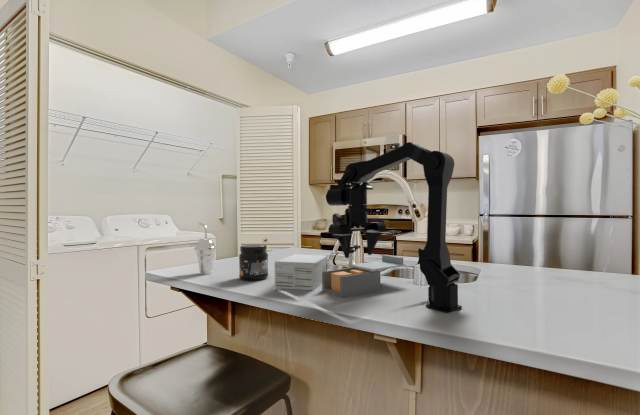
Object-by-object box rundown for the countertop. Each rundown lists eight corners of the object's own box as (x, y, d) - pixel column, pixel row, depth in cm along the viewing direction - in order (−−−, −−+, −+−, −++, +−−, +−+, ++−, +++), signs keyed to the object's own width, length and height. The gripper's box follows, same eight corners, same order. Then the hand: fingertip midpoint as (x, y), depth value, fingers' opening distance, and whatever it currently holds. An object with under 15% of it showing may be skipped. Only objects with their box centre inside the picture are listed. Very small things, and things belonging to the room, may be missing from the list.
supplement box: (314, 293, 101) (314, 262, 101) (274, 291, 105) (273, 261, 105) (328, 281, 118) (327, 254, 118) (292, 279, 121) (292, 253, 121)
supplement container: (239, 276, 127) (239, 244, 127) (268, 274, 129) (267, 243, 129) (238, 282, 117) (237, 247, 117) (268, 280, 119) (268, 246, 119)
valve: (360, 277, 123) (359, 244, 123) (360, 281, 117) (360, 246, 116) (342, 276, 124) (341, 244, 124) (341, 281, 117) (341, 246, 117)
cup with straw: (194, 276, 127) (193, 223, 127) (194, 271, 136) (194, 222, 136) (217, 274, 130) (216, 223, 130) (216, 270, 139) (216, 222, 139)
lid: (405, 266, 107) (405, 257, 107) (371, 271, 99) (371, 262, 99) (383, 261, 115) (383, 254, 115) (350, 266, 107) (350, 258, 107)
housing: (380, 292, 101) (380, 271, 101) (342, 300, 93) (342, 277, 93) (359, 286, 109) (358, 266, 109) (322, 292, 101) (322, 271, 101)
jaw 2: (370, 288, 102) (370, 270, 102) (359, 290, 100) (359, 272, 100) (361, 286, 106) (361, 268, 106) (350, 288, 104) (350, 270, 104)
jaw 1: (352, 292, 98) (352, 273, 98) (340, 294, 96) (340, 275, 96) (343, 289, 102) (343, 271, 102) (331, 291, 100) (331, 273, 100)
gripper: (362, 205, 114) (363, 251, 114) (317, 205, 104) (318, 256, 104) (386, 204, 105) (387, 254, 105) (339, 205, 95) (340, 260, 95)
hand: (358, 256), depth 102 cm, fingers open, 9 cm apart
